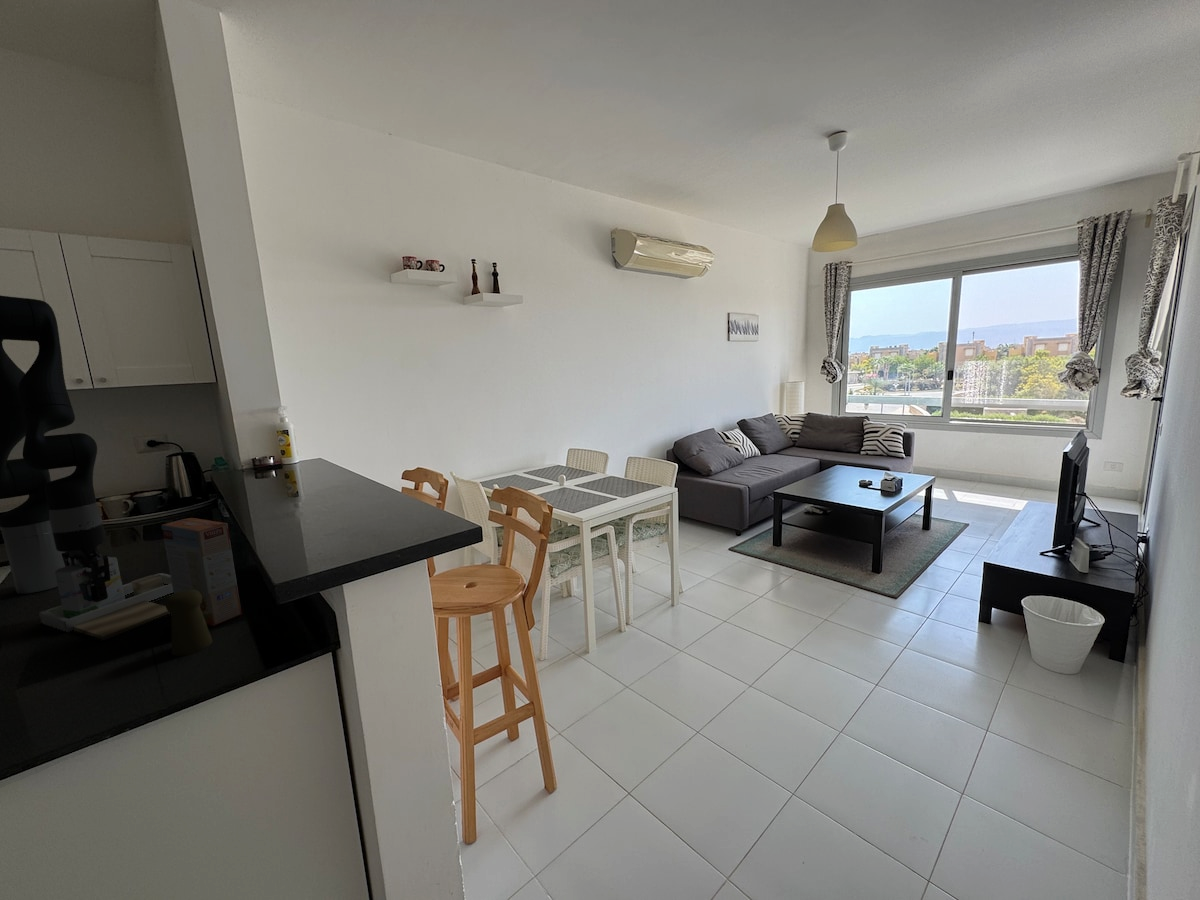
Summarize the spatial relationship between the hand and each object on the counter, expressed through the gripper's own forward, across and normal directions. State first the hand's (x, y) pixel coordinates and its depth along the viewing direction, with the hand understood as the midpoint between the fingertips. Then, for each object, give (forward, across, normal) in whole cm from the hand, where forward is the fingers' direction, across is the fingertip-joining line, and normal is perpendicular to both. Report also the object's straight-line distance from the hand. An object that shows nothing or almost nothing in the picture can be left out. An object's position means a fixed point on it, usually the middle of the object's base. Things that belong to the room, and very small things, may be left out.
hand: (93, 597), depth 107 cm
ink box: (+4, 0, 0) cm, 4 cm away
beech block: (+4, 0, +10) cm, 10 cm away
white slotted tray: (+4, 0, +4) cm, 5 cm away
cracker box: (+4, +27, +8) cm, 28 cm away
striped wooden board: (+4, +12, 0) cm, 13 cm away
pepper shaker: (+4, +38, -1) cm, 38 cm away
